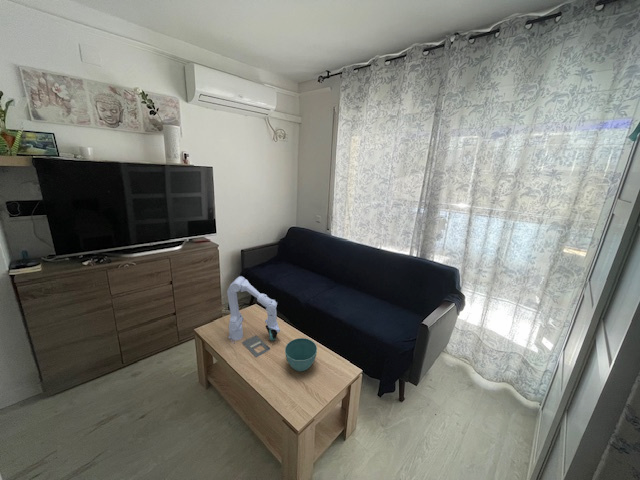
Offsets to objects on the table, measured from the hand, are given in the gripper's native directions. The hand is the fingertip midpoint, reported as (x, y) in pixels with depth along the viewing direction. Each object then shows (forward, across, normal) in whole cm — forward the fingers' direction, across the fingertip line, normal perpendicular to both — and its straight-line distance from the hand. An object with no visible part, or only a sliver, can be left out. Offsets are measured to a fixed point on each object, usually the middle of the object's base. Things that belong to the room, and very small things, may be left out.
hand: (272, 336), depth 162 cm
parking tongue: (+4, 0, 0) cm, 4 cm away
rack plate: (+4, +2, +12) cm, 12 cm away
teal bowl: (+4, -29, 0) cm, 29 cm away
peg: (+2, 0, 0) cm, 2 cm away
